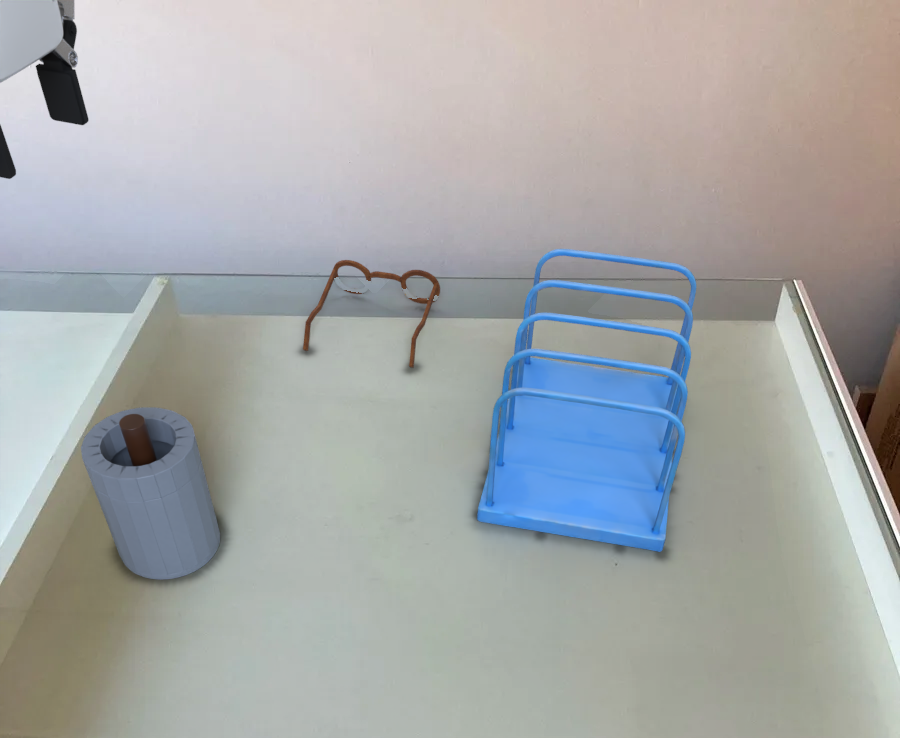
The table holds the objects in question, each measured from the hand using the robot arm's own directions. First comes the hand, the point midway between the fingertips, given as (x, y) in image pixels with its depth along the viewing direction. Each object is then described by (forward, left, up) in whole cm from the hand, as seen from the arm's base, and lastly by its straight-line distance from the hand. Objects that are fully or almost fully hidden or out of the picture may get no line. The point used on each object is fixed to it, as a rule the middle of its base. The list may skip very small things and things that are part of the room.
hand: (35, 146), depth 70 cm
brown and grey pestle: (+11, -12, -29) cm, 33 cm away
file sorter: (+45, +12, -29) cm, 55 cm away
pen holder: (+11, -12, -29) cm, 33 cm away
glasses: (+17, +26, -29) cm, 43 cm away
